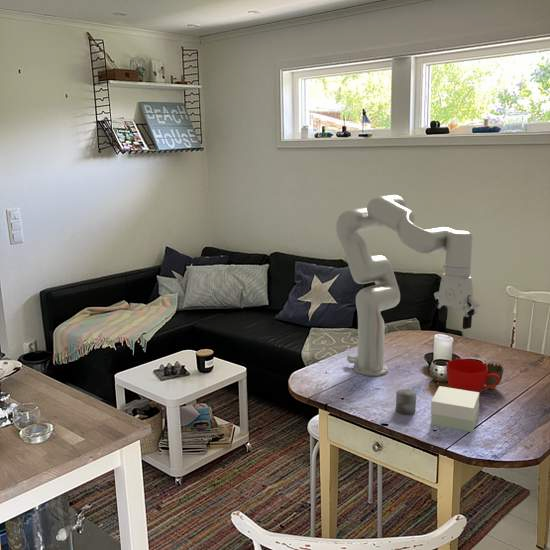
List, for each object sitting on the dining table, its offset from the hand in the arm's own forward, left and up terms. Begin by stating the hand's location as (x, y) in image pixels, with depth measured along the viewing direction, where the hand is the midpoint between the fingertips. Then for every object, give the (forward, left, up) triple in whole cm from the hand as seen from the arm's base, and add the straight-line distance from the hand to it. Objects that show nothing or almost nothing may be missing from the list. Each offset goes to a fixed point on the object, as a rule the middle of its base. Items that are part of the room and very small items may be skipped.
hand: (454, 324), depth 188 cm
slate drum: (-11, -13, -26) cm, 31 cm away
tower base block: (+4, -13, -27) cm, 30 cm away
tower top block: (+3, -13, -23) cm, 26 cm away
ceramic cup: (+6, +7, -26) cm, 28 cm away
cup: (+11, +15, -26) cm, 32 cm away
